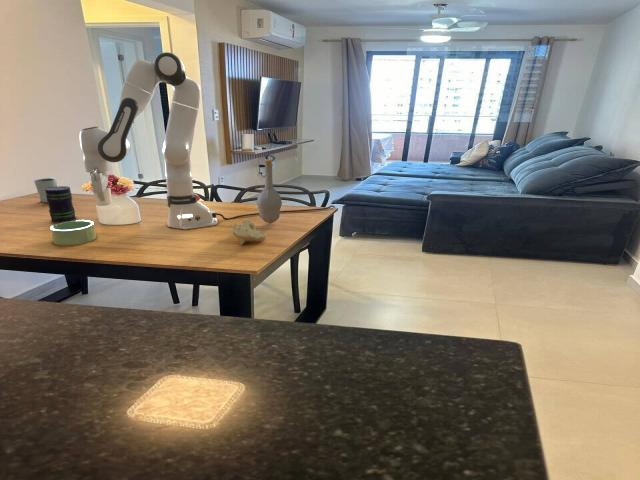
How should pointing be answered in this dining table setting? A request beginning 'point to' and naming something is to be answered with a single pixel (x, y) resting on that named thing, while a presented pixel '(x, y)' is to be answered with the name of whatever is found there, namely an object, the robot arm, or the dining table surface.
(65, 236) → the green round shallow bowl
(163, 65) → the robot arm
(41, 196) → the grey cup
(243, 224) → the grey beige rock
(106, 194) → the shot glass
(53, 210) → the storage jar
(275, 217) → the bottle
